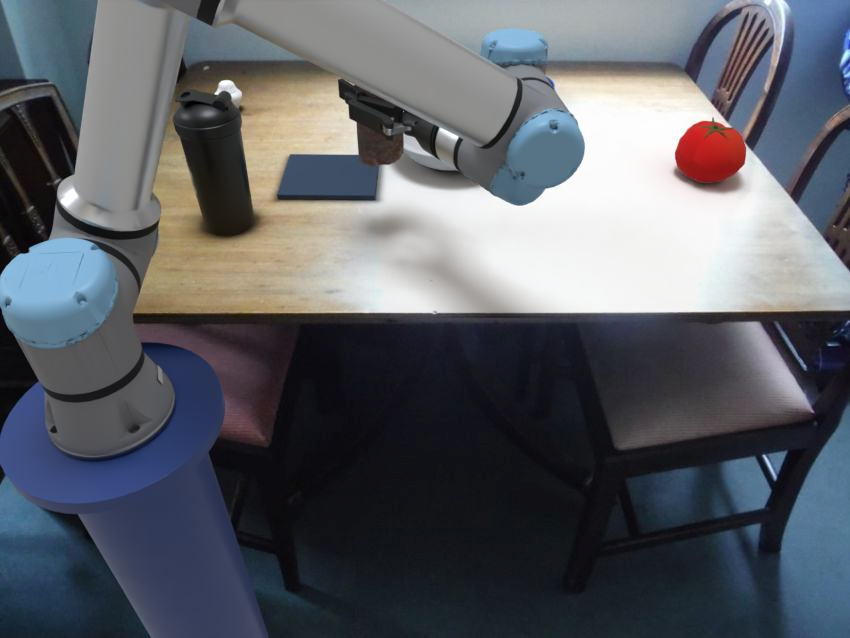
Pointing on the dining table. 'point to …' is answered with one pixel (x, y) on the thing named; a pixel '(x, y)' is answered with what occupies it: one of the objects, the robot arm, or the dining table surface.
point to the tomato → (710, 152)
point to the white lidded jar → (230, 91)
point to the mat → (328, 178)
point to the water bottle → (215, 159)
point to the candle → (377, 143)
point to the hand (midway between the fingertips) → (362, 82)
